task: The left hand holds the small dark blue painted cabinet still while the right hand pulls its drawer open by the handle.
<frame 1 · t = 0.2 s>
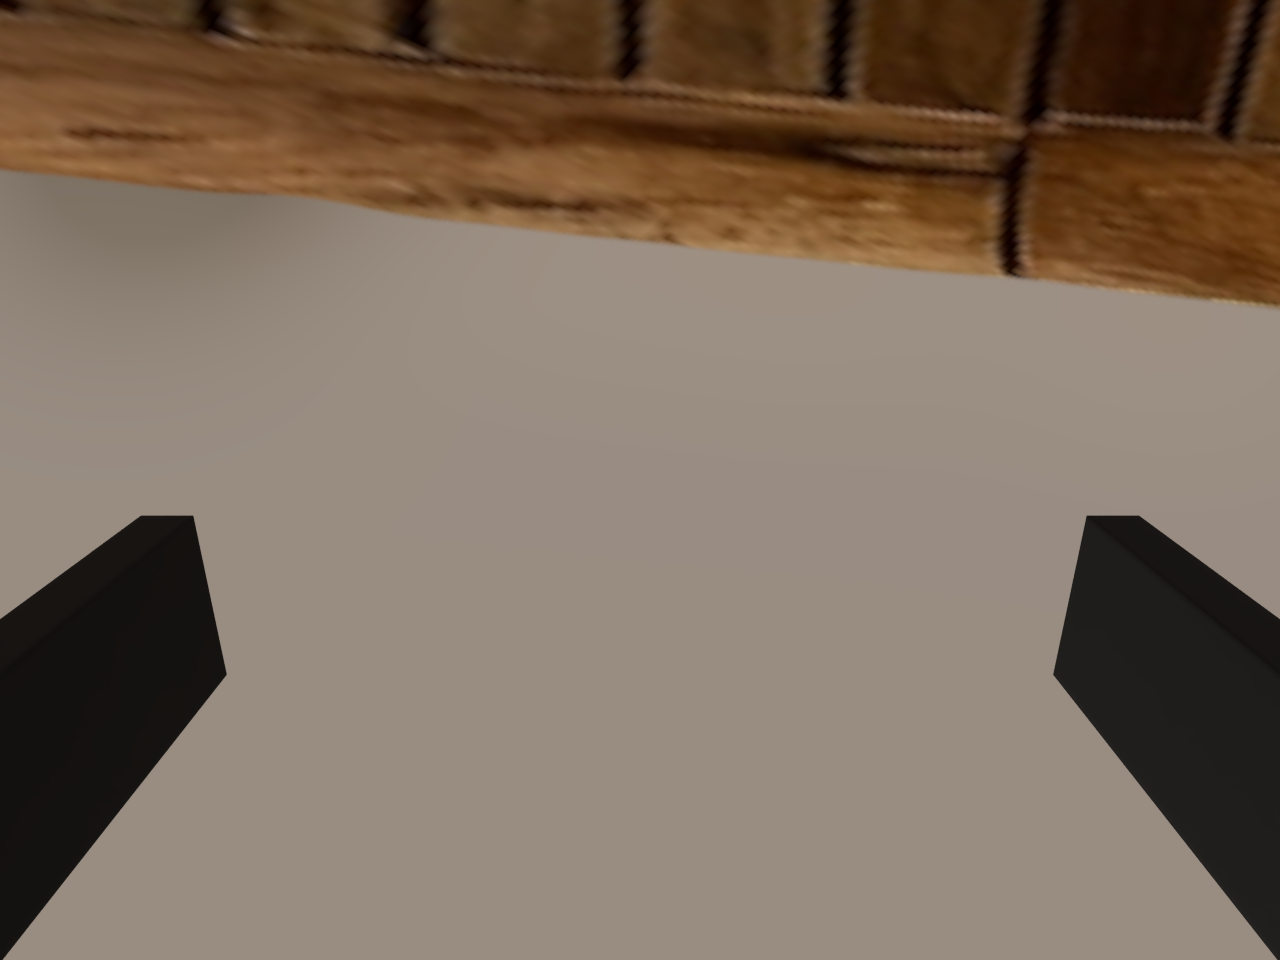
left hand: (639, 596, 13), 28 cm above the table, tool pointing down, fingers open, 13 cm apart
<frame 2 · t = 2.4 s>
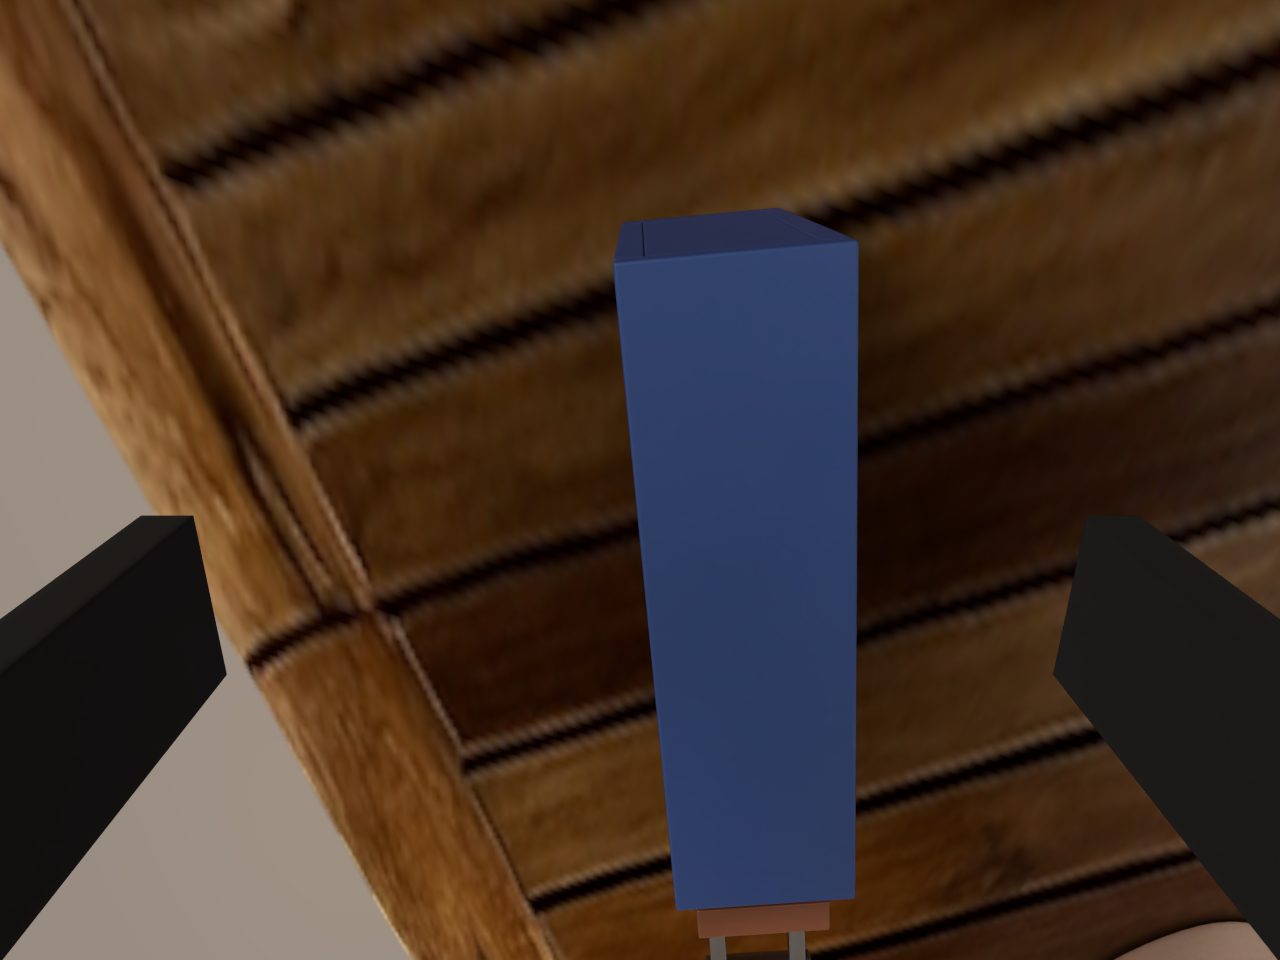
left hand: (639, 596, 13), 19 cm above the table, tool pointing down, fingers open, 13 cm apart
drawer: (739, 688, 29), point 6 cm above the table, slide at 1.0 cm
cabinet: (716, 477, 32), on the table
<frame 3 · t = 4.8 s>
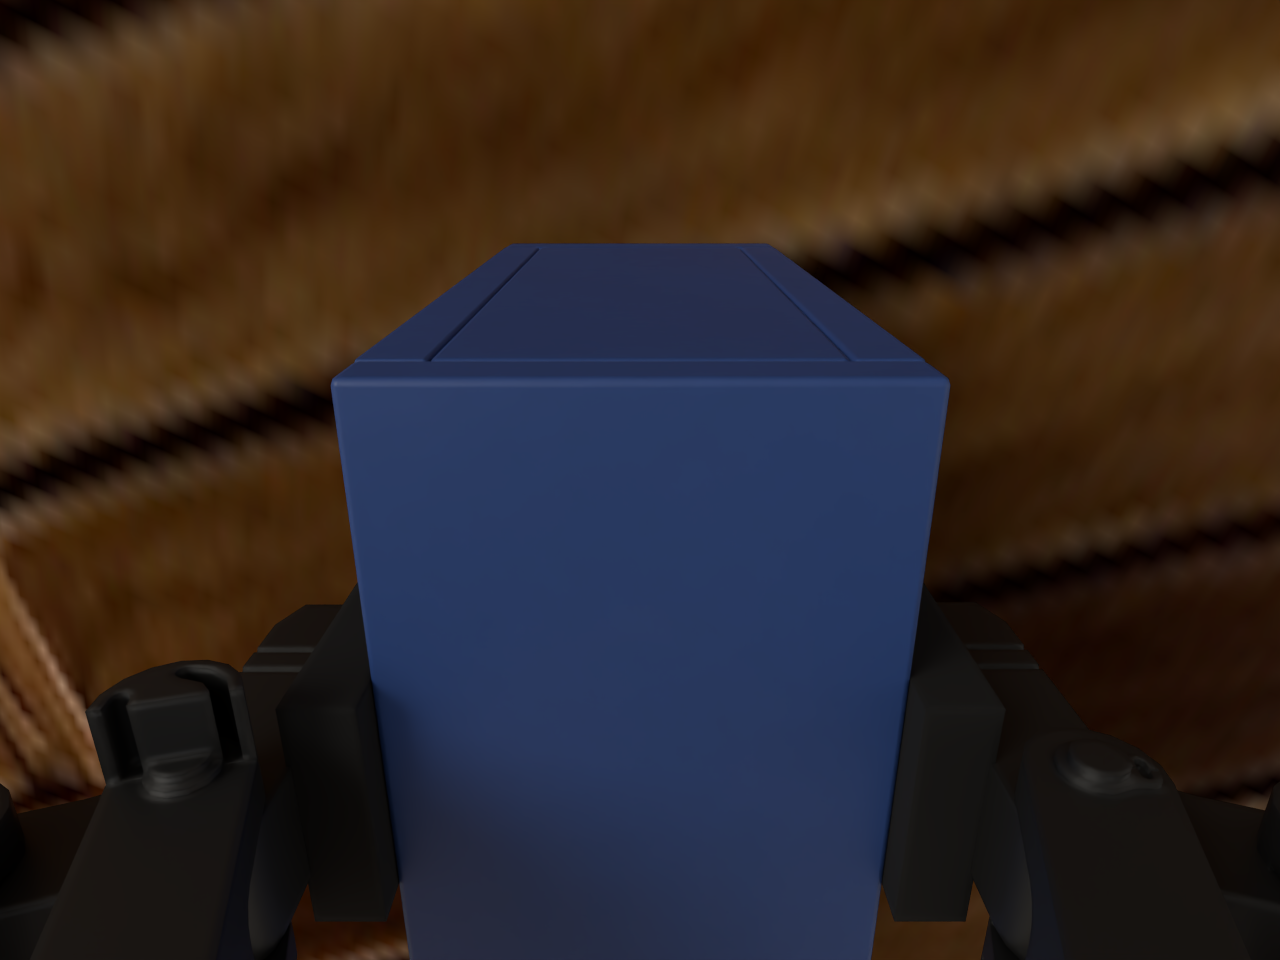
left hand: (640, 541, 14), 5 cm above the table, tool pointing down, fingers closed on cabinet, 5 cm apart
cabinet: (639, 642, 21), on the table, touching left hand
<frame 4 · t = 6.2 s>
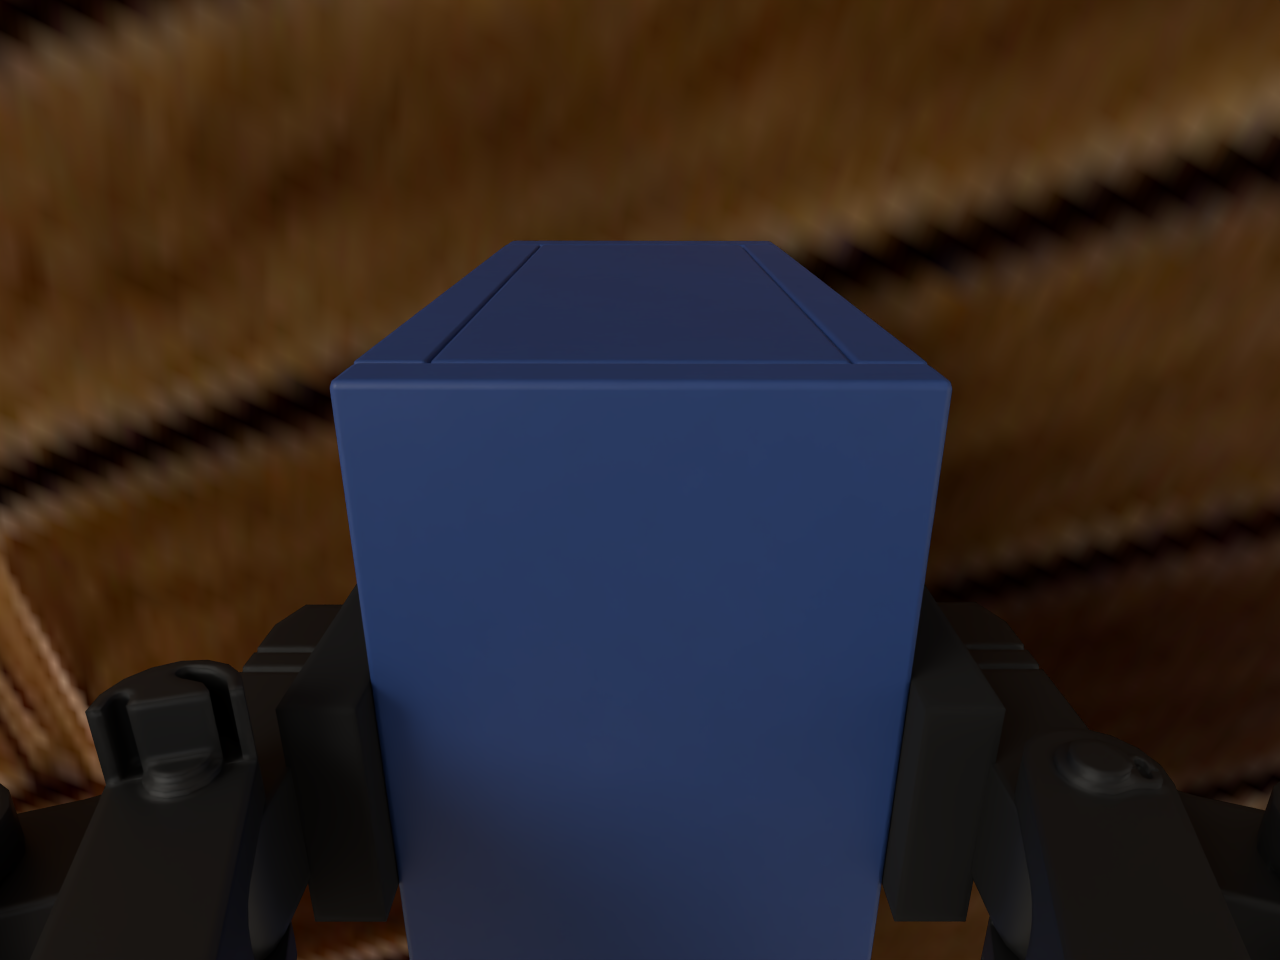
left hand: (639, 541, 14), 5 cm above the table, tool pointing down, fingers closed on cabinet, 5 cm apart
cabinet: (640, 639, 21), on the table, touching left hand
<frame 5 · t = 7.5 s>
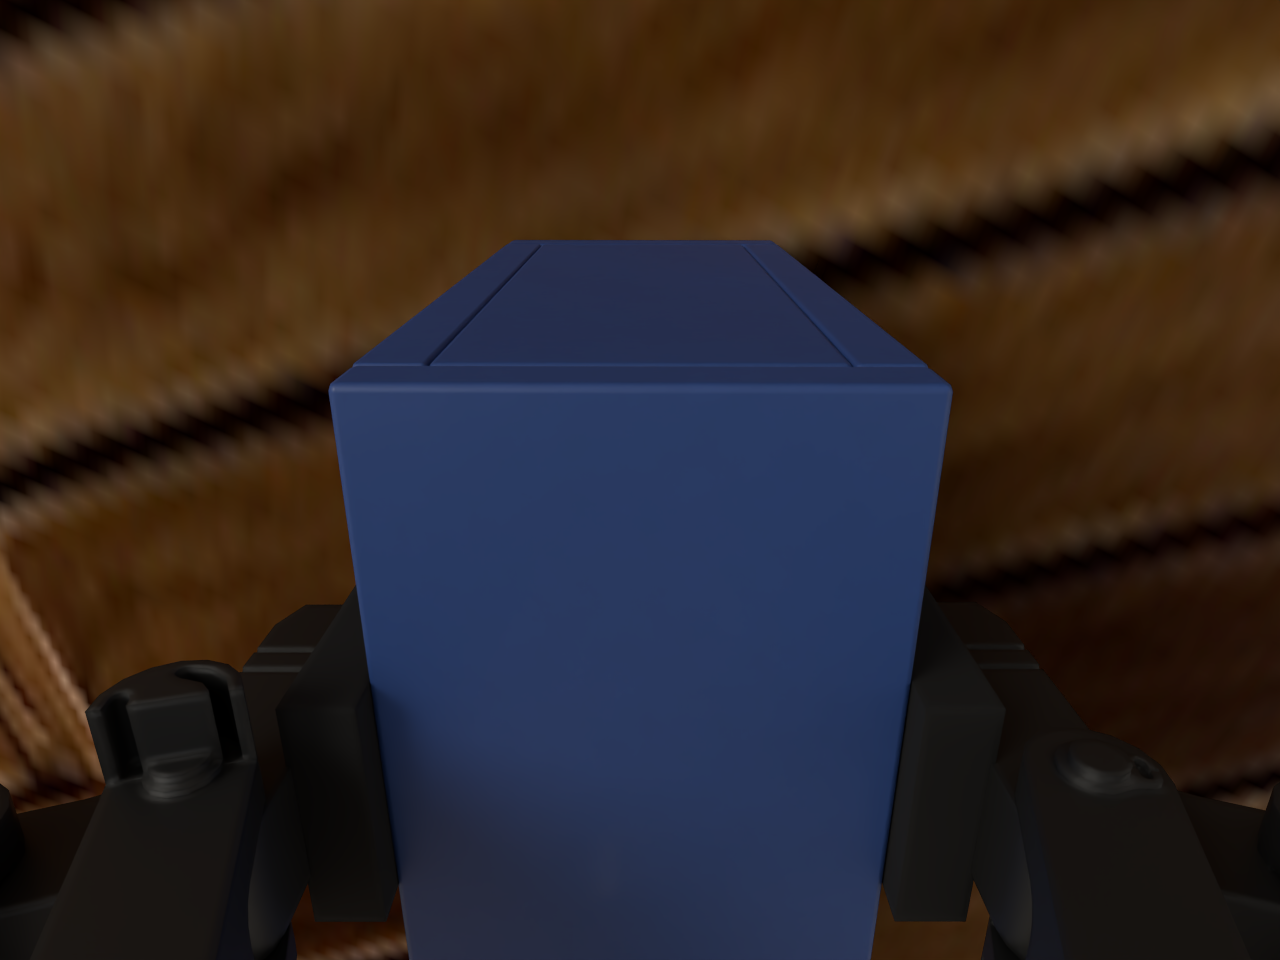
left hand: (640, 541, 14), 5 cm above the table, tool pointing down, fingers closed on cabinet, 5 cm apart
cabinet: (641, 639, 21), on the table, touching left hand
when the left hand's fingers open (5 cm above the table, at t = 9.1 s): cabinet stays where it is, on the table.
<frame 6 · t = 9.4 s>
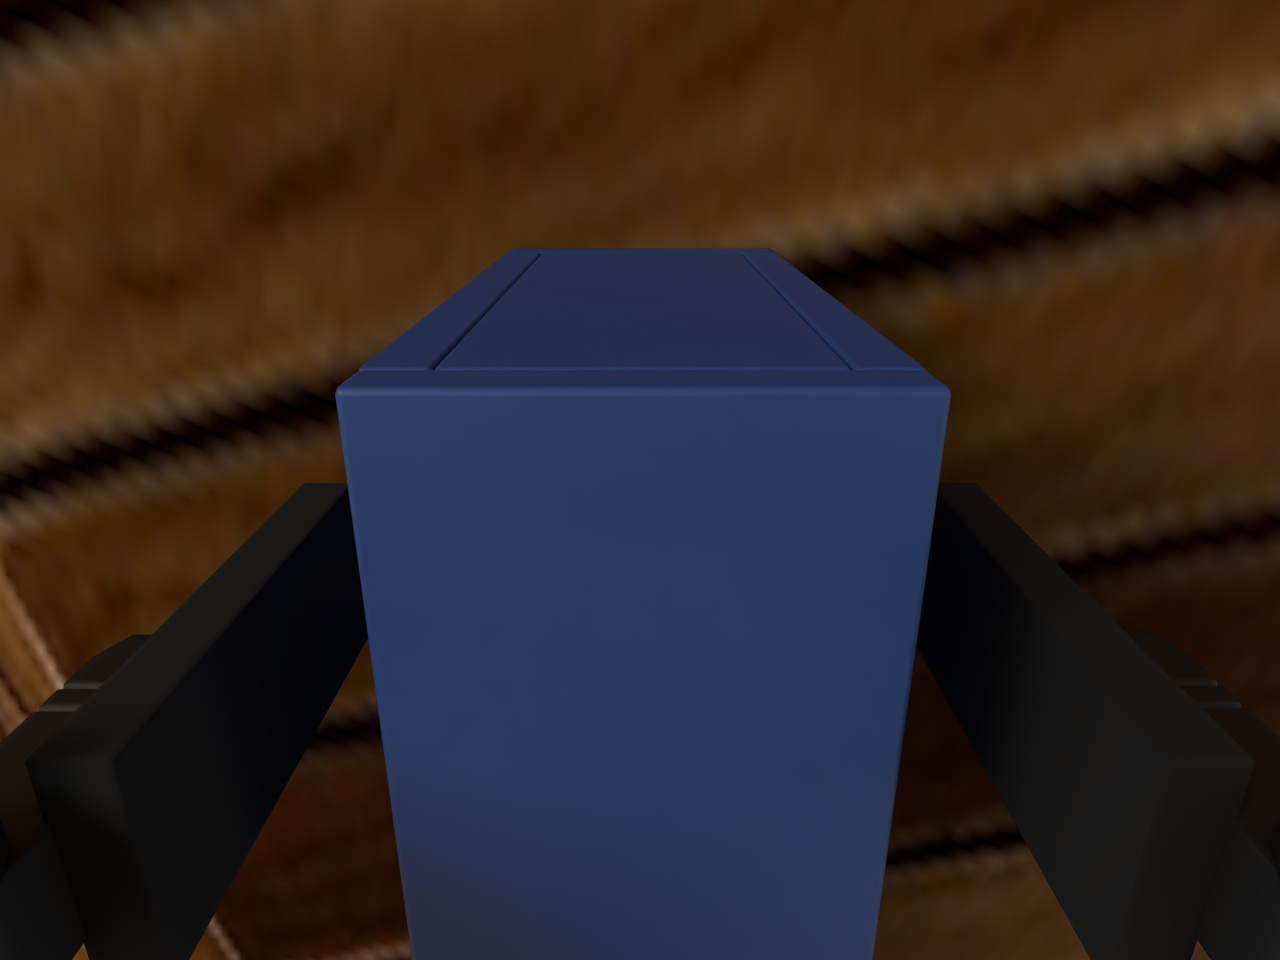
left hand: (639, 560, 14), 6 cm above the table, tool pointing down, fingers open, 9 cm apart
cabinet: (641, 645, 21), on the table
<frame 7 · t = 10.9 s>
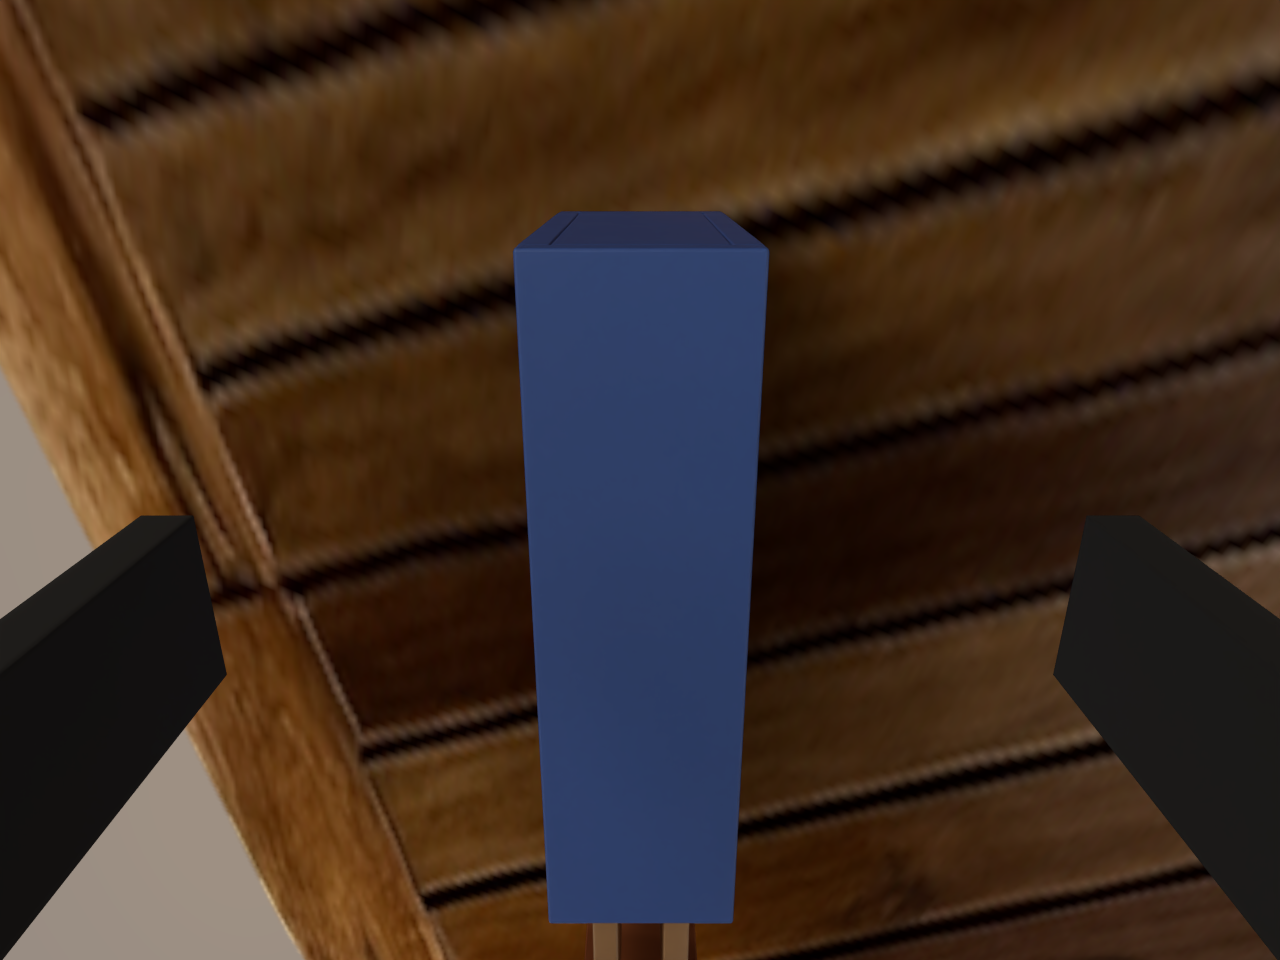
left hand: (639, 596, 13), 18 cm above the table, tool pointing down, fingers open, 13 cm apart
drawer: (640, 838, 31), point 5 cm above the table, slide at 7.0 cm
cabinet: (640, 481, 31), on the table
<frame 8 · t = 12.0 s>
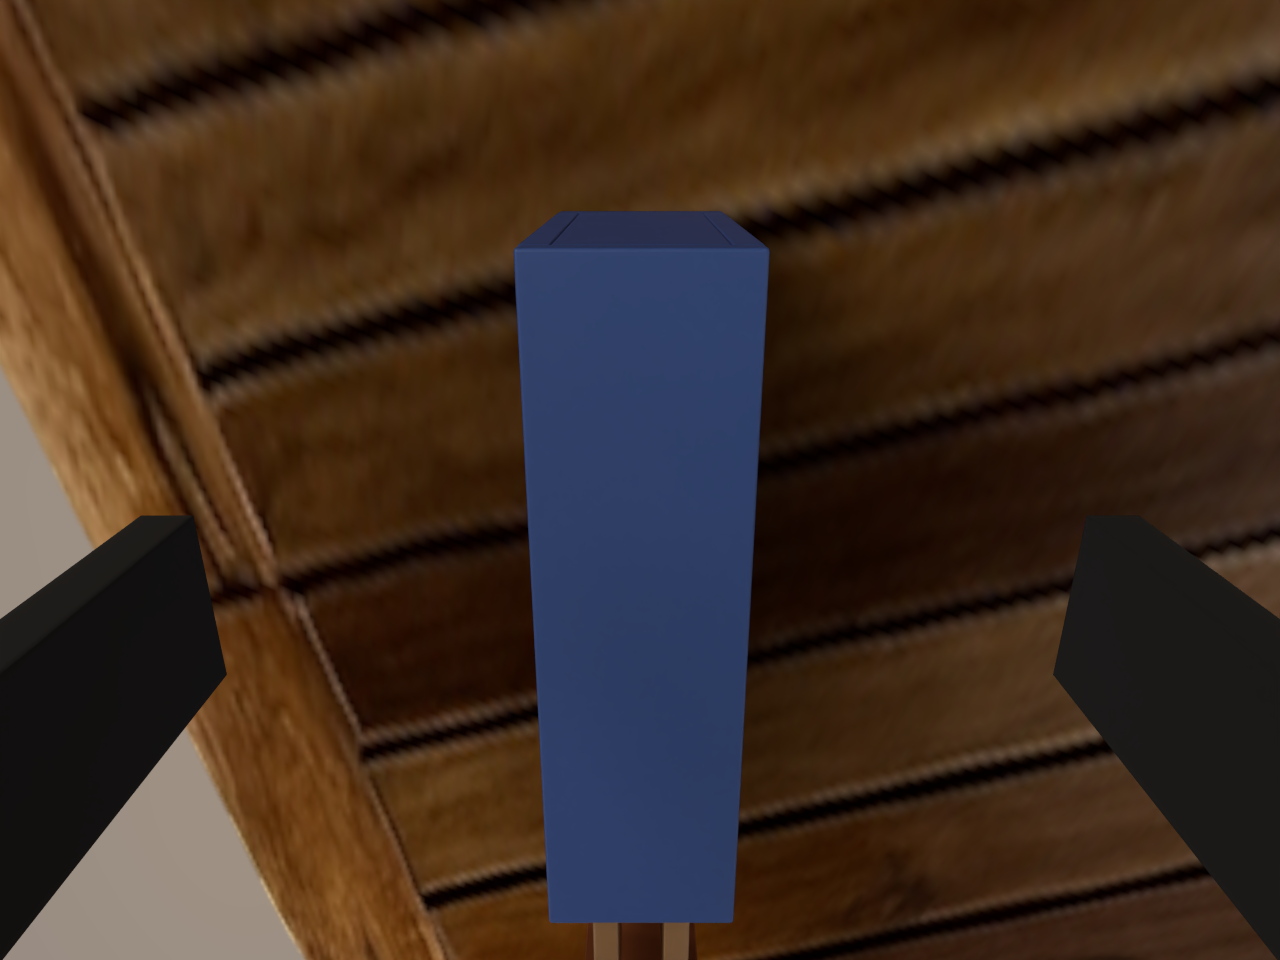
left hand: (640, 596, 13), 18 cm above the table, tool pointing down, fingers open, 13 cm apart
drawer: (641, 837, 31), point 5 cm above the table, slide at 7.0 cm
cabinet: (640, 481, 31), on the table
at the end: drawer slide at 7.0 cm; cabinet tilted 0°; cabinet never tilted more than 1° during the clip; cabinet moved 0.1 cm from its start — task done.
